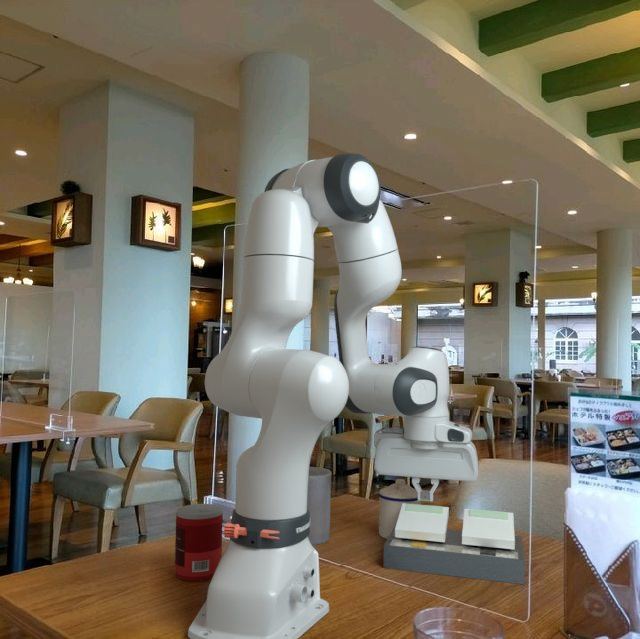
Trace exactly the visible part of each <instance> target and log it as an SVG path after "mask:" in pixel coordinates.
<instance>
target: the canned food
mask: <svg viewBox="0 0 640 639" xmlns="http://www.w3.org/2000/svg"><path fill="white" fill-rule="evenodd" d="M223 513H224V512H223V508H222V506H219V505H218V504H217V505H216V504H212V503H193V504H187V505H184V506H181V507H179V508H177V509H176V513H175V544H174V546H175V549H174V551H175V552H174V573H175V576H176V577H177V579H179V580H181V581H184V582H191V583H192V582H195V583H197V582H204V581H209V580H212V578H213V575H214V573H215V571H216V568H217V566H218V564H219V562H220V559H221V557H222V555H223V553H222V552H223V522H224V521H223V519H224V518H223V517H224V516H223Z"/></svg>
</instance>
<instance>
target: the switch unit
mask: <svg viewBox="0 0 640 639" xmlns="http://www.w3.org/2000/svg"><path fill="white" fill-rule="evenodd" d="M395 527H396V525H395V526H394V528H393V530H392V532H391V534H390V535H389V537H388V539H386V541H385V542H384V544H383V569H389V570H397V571H398V570H399V571H407V572H415V573H425V574H432V575H440V576H450V577H458V578H467V579H474V580H476V579H477V580H485V581H493V582H499V583H507V584H508V583H512V584H517V585H518V584H519V585H525V567H526V566H525V553H524V548H523V547H524V545H523V539H522V535H515V550H514V549H505V548H495V547H485V546H476V545H466V544H462V530H463V529H462V530H460V529H451V528H447V531H446V538H445V542H437V541H427V540H417V539H408V538H398V537H395Z"/></svg>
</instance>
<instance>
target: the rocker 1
mask: <svg viewBox="0 0 640 639" xmlns="http://www.w3.org/2000/svg"><path fill="white" fill-rule="evenodd" d="M449 516H450V507H449V506H439V505H429V504H428V505H427V504H421V505H420V504H408V503H407V504H406V503H403V504H402V507H401V511H400V514H399V517H398V521H397V524H396V527H395V537H398V538H408V539H417V540H427V541H437V542H445V538H446V531H447V529H448V523H449Z"/></svg>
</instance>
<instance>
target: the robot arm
mask: <svg viewBox="0 0 640 639" xmlns="http://www.w3.org/2000/svg"><path fill="white" fill-rule="evenodd" d="M380 180H381V179H380V176H379V174H378V171H377V169H376V167H375V166H374V165H373V164H372V163H371V161H370V160H369V159H368V158H367V157H366V156H364V155H363V154H359V153H351V152H350V153H349V152H348V153H347V152H346V153H339V154H336V155H334V156H329V157H323V158H319V159H311V160H307V161H304V162H302V163H299V164H297V165H294V166H293V167H292V166H291V167H289V168H284V169H283V170H281V171H279V172H277V173H276V174H275V175H273V176H272V177H271V178H270V179H269V180H268V182H267V184H266V186H265V188H264V190H263V192H262V193H259V195H258V196H256V197H255V199H254V200H253V201H252V204H251V208H250V211H249V215H248V219H247V225H246V232H245V236H244V246H243V247H244V248H243V259H242V261H243V262H242V263H243V264H242V265H243V266H242V281H241V291H240V293H241V295H240V303H239V308H238V314H237V317H236V320H235V324H234V326H233V329H232V331H231V334H230V336H229V338H228V339H227V342H226V344H225V345H224V347H223V348H222V349H221V351H220V352H219V353H218V354H216V355H215V356H214V358H212V360H211V361H210V363H209V364H208V366H207V369H206V372H205V377H204V388H205V393H206V395H207V398H208V400H209V401H210V403H211V404H213V405H214V407H215V406H216V407H217V408H219V409H221V410H223V411H225V412H228V413H230V414H233V415H235V416H239V417H246V418H253V419H261V425H260V426H261V427H260V431H259V434H258V438H257V440H256V441H255V443H254V444H253V446H250V447H249V448H247V449H246V450H245V451H243V452H242V453H241V454H240V455H239V458H237V461H236V466H235V468H236V469H235V504H234V505H235V506H234V507H235V508H234V509H233V510H232V514H231V518H230V522H226V523H225V524H224V527H223V530H222V534H223V537H224V538H226V539H227V538H228V539H229V541H227V545H226V547H225V549H224V550H223V553H222V557H221V559H220V562H219V564H218V566H217V568H216V571H215V573H214V575H213V578H212V579H210V583H209V584H208V587H207V588H208V589H207V593H206V594H207V596H206V600H205V602H204V603H203V605H202V607H201V608H200V609H199V611H198V613H197V615H196V616H195V618H194V619H193V620H192V623H191V624H190V625H189V628H188V629H187V637H188V638H189V639H299V638H300V637H301V636H302V635H303V634H305V633H306V632H307V631H308V630H309V629H310V628H312V626H314V625H315V624H316V623H318V622H319V621H320V620H321V619H322V618H323V617H325V616H326V615H327V614H328V613H329V612H330V604H329V601H327V600H325V599H323V598H321V593H320V591H321V590H320V564H319V563H320V561H319V552H318V551H317V550H316V548H314V545H311V543H310V541H309V538H308V536H309V534H310V512H309V510H308V509H307V494H308V475H309V466H310V464H311V458H312V454H313V452H314V448H315V445H316V443H317V441H318V438H319V437H320V435H321V433H322V432H323V431H324V429H325V428H326V427H327V425H329V423H331V422H332V421H333V420H334V419H336V418H337V417H338V416H339V415H340V414H341V412H342V411H343V410H344V408H347V410H348V411H350V412H351V413H354V414H366V415H367V414H369V415H370V414H377V415H381V416H382V415H384V416H395V417H403V427H385V426H384V427H381V428H380V429H378V430H376V431H375V433H374V434H373V435H374V436H373V445H374V447H375V455H374V462H373V469H374V472H375V473H376V474H377V475H379V476H391V477H392V476H393V477H404V478H405V477H407V478H411V484H412V486H413V487H414V489H416V491H417V492H418V501H421V502H422V501H423V502H433V501H434V492H435V491H436V489H437V487H438V485H439V484H440V480H446V481H459V482H460V481H461V482H476V481H477V480H478V479H479V477H480V472H479V470H480V469H479V459H478V458H479V457H478V451H477V448H476V446H475V444H474V442H472V438H473V431H472V429H471V428H469V427H467V426H464V425H461V424H459V423H457V422H453V421H452V420H451V421H450V412H449V408H448V407H449V406H448V399H449V396H450V370H449V363H448V362H449V361H448V358H447V355H446V353H445V352H444V351H442V350H441V349H438V348H435V347H429V346H420V345H418V346H412V347H409V348H408V350H407V353H406V355H405V356H403V358H402V359H400V360H398V361H397V362H394V363H391V364H386V363H375V362H373V361H372V360H371V358H370V356H369V348H368V340H367V337H368V336H367V327H366V320H367V316H368V314H369V312H370V311H371V310H372V309H373V308H374V307H376V306H378V305H380V304H381V303H382V302H385V301H386V300H387V299H389V298H390V297H391V296H392V295H393V294H394V293H395V292H396V291H397V289H398V287H399V285H400V283H401V280H402V273H403V272H402V270H403V269H402V262H401V256H400V254H399V247H398V243H397V238H396V235H395V232H394V228H393V225H392V223H391V219H390V217H389V215H388V212H387V209H386V208H385V205H384V203H383V201H382V200H381V191H382V189H381V181H380ZM317 228H328V230H329V231H330V233H331V234H332V237H333V243H334V244H333V245H334V251H335V255H336V260H337V265H338V270H339V284H338V285H339V286H338V289H337V290H336V292H335V296H334V300H333V308H334V309H333V310H334V311H333V312H334V322H335V324H334V325H335V334H336V343H337V351H338V358H336V357H334V356H332V355H328V354H325V353H322V352H318V351H314V350H311V349H286V348H287V344H288V341H289V338H290V336H291V333H292V332H293V330H294V328H295V327H296V326H297V325H298V324H299V323H301V322H302V321H304V320H305V319H306V318H307V317H308V315H309V314H310V313H311V310H312V308H313V296H314V273H315V272H314V270H315V268H314V267H315V239H314V234H315V232H316V230H317ZM421 479H430V483H431V485H432V487H431V489H430V490H427V489H425V490H424V489H422V487H421V486H420V482H421Z"/></svg>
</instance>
